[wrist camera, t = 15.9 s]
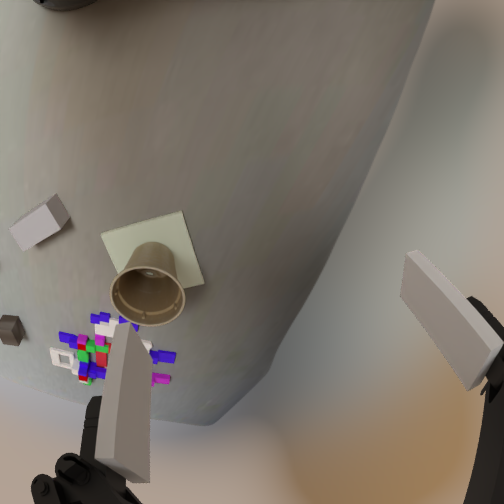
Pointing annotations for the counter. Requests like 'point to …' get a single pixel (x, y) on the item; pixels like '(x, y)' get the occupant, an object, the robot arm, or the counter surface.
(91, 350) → the building block set
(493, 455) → the robot arm
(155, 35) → the counter surface
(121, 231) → the coaster
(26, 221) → the grey block
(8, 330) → the dark block
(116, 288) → the flower pot
